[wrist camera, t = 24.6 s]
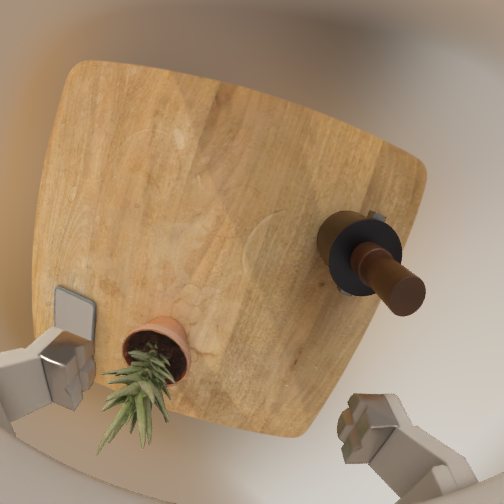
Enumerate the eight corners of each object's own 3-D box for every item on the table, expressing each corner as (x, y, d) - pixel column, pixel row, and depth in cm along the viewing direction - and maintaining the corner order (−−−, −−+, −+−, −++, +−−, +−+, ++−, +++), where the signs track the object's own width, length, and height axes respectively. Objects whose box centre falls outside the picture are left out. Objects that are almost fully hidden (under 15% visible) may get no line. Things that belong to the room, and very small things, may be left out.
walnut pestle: (358, 235, 30) (399, 265, 20) (389, 248, 30) (436, 281, 20) (343, 270, 31) (376, 312, 21) (374, 282, 31) (414, 324, 21)
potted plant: (200, 310, 42) (147, 448, 18) (197, 362, 44) (159, 496, 20) (134, 299, 42) (43, 411, 18) (138, 351, 44) (71, 467, 20)
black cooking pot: (330, 194, 37) (350, 201, 29) (385, 218, 38) (415, 231, 29) (302, 263, 39) (314, 287, 31) (358, 283, 40) (379, 309, 32)
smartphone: (55, 353, 44) (54, 285, 40) (57, 350, 45) (57, 283, 41) (91, 372, 45) (95, 304, 41) (93, 369, 46) (98, 302, 42)
